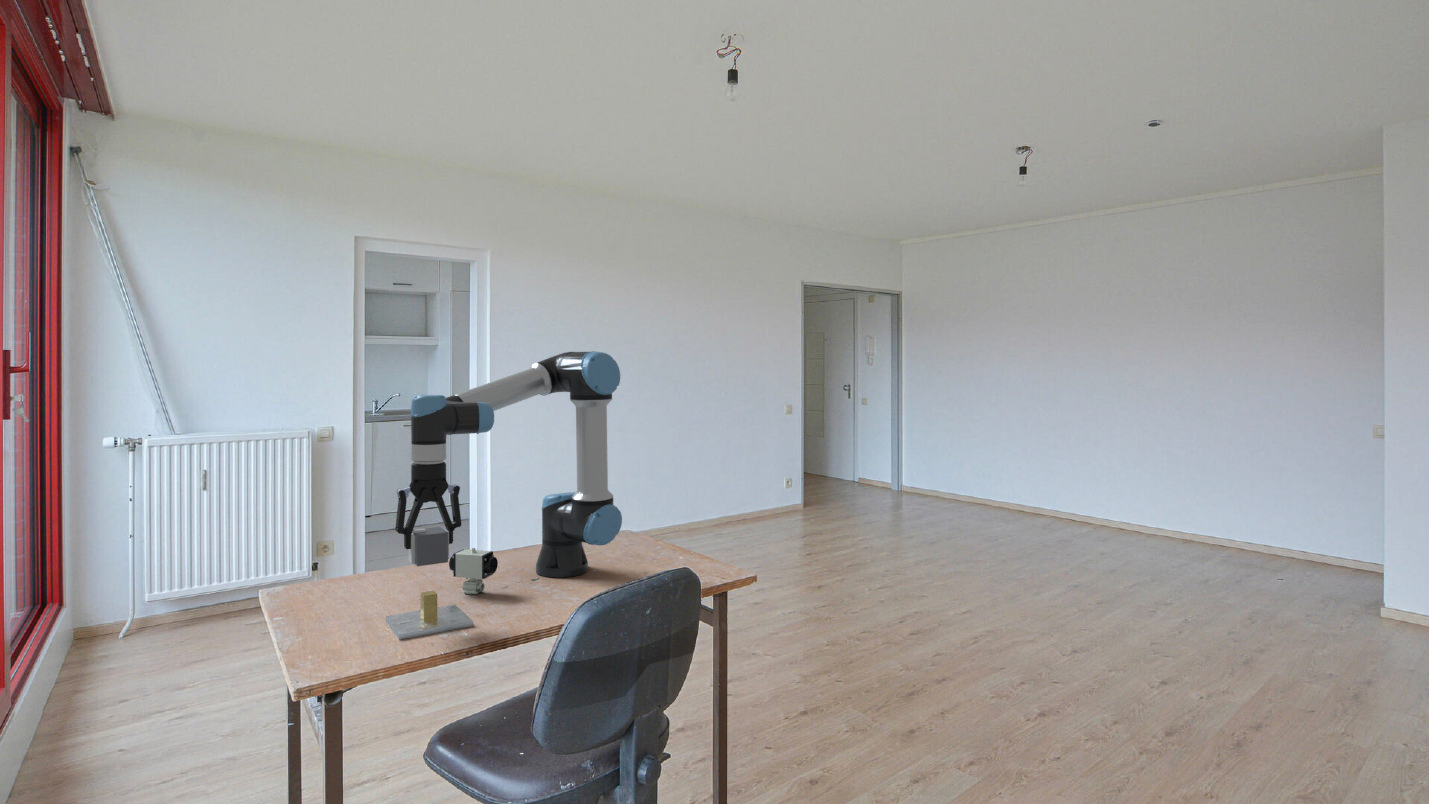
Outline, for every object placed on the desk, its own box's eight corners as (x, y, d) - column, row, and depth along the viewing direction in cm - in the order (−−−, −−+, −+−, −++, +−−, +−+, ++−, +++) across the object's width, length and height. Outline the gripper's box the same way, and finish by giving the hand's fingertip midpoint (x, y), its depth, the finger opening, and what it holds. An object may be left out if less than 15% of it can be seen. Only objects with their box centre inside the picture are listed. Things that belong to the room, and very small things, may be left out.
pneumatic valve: (489, 597, 190) (489, 551, 189) (448, 593, 192) (448, 548, 192) (499, 591, 195) (499, 546, 195) (459, 587, 198) (459, 544, 197)
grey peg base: (455, 609, 180) (455, 580, 180) (472, 626, 169) (472, 595, 168) (385, 621, 171) (385, 590, 171) (399, 639, 160) (399, 607, 159)
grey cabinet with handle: (439, 555, 174) (440, 524, 174) (448, 562, 168) (448, 529, 168) (409, 559, 170) (409, 527, 170) (417, 566, 164) (417, 533, 164)
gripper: (467, 457, 177) (467, 551, 178) (379, 462, 165) (379, 562, 166) (476, 461, 171) (476, 557, 172) (386, 466, 159) (386, 570, 160)
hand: (429, 560), depth 169 cm, fingers closed on grey cabinet with handle, 7 cm apart
